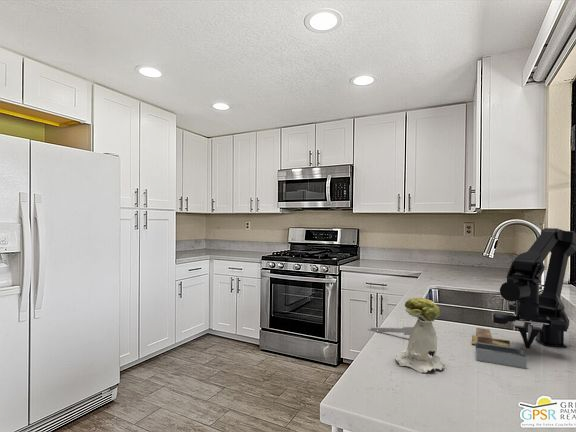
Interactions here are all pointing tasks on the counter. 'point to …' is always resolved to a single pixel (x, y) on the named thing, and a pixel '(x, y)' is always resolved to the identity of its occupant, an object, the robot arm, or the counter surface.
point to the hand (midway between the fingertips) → (527, 348)
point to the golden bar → (495, 341)
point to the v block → (501, 355)
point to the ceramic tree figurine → (421, 337)
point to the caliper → (393, 330)
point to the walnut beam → (484, 336)
